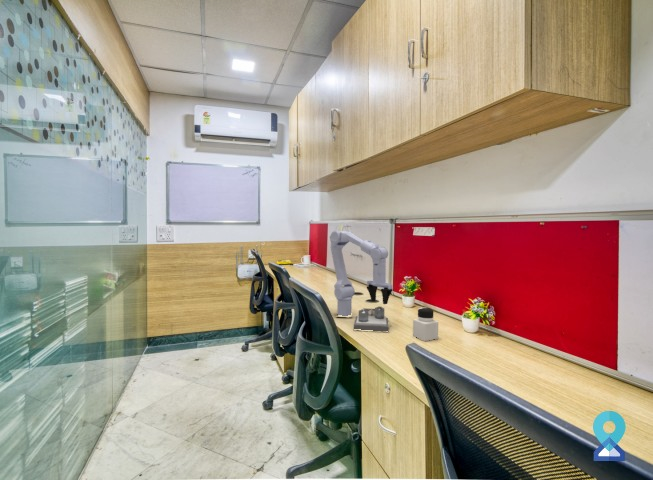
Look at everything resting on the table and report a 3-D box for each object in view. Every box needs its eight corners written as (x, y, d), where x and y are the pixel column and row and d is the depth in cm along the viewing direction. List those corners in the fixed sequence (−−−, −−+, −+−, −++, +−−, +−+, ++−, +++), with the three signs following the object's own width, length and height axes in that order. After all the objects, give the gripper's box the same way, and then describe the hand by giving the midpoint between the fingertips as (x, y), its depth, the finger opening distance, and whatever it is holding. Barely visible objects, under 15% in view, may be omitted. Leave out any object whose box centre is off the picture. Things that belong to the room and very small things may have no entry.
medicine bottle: (438, 339, 126) (438, 309, 126) (424, 341, 123) (425, 311, 123) (425, 334, 133) (426, 305, 132) (412, 336, 130) (412, 307, 129)
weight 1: (360, 319, 144) (360, 308, 144) (369, 320, 142) (369, 309, 142) (357, 321, 140) (357, 310, 140) (366, 322, 138) (366, 311, 138)
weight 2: (375, 316, 149) (375, 305, 149) (384, 316, 148) (384, 306, 148) (374, 318, 145) (374, 307, 145) (383, 319, 144) (384, 308, 144)
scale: (356, 320, 154) (356, 308, 154) (387, 321, 151) (387, 309, 151) (353, 330, 137) (353, 317, 137) (388, 332, 135) (388, 318, 135)
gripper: (362, 272, 149) (362, 300, 150) (384, 275, 138) (384, 306, 138) (373, 271, 153) (372, 299, 154) (395, 274, 142) (395, 304, 142)
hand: (379, 302), depth 146 cm, fingers open, 7 cm apart
